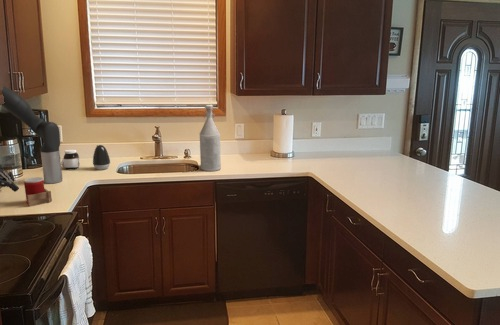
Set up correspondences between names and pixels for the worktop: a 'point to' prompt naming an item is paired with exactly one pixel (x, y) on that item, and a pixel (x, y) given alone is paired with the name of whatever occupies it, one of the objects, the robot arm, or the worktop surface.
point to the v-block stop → (39, 198)
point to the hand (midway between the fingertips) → (17, 190)
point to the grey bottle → (210, 143)
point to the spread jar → (70, 159)
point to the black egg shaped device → (101, 158)
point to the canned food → (33, 186)
